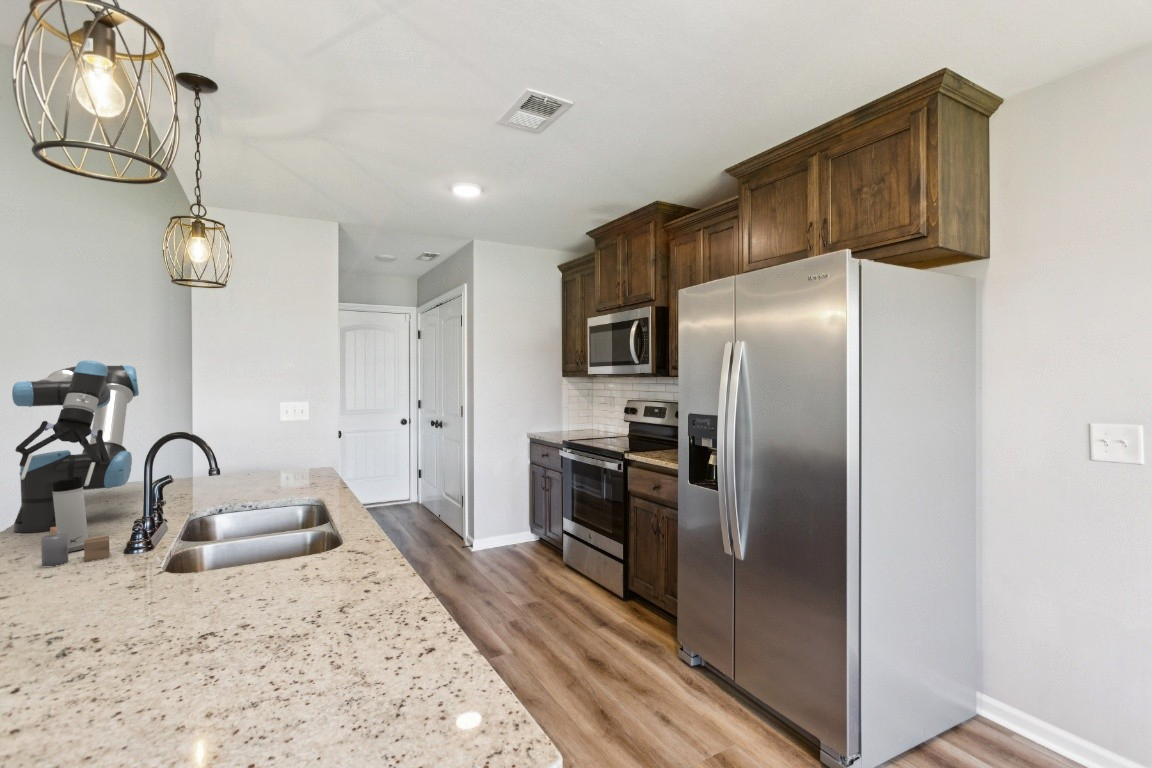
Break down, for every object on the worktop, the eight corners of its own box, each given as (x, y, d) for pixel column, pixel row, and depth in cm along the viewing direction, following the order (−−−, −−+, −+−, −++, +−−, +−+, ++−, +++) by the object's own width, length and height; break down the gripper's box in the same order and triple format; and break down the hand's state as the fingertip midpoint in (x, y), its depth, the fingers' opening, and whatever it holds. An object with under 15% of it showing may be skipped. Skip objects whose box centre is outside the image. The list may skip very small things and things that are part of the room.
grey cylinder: (48, 561, 146) (47, 534, 146) (72, 559, 148) (71, 532, 148) (37, 568, 142) (36, 540, 141) (62, 565, 143) (61, 538, 143)
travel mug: (79, 551, 154) (72, 478, 152) (52, 553, 153) (44, 480, 152) (96, 543, 160) (88, 473, 159) (70, 546, 159) (62, 475, 158)
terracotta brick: (50, 541, 164) (50, 527, 164) (68, 537, 168) (68, 524, 168) (58, 545, 160) (58, 531, 160) (77, 542, 163) (76, 528, 163)
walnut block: (84, 557, 150) (84, 538, 150) (109, 553, 153) (108, 535, 153) (84, 562, 146) (84, 543, 146) (109, 558, 149) (109, 539, 149)
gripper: (22, 397, 156) (-6, 472, 148) (132, 416, 173) (113, 485, 164) (19, 404, 161) (-8, 478, 152) (127, 423, 177) (108, 490, 169)
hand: (55, 482), depth 158 cm, fingers open, 13 cm apart
